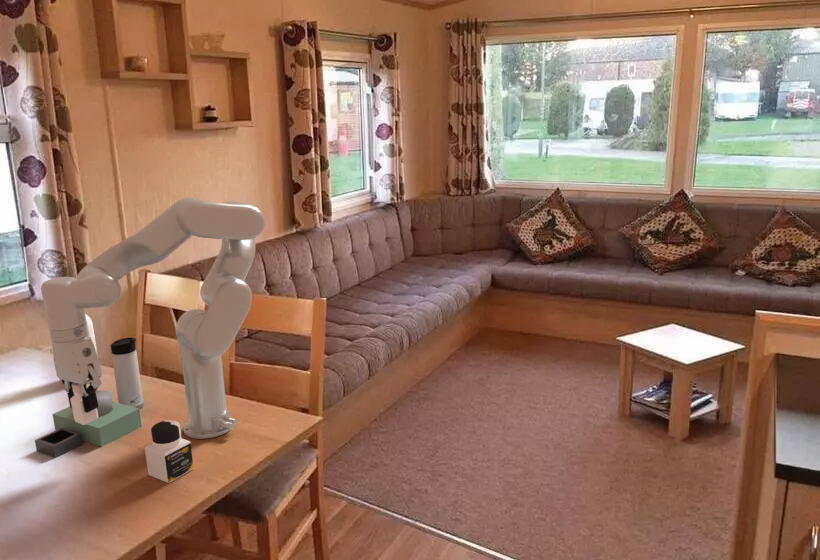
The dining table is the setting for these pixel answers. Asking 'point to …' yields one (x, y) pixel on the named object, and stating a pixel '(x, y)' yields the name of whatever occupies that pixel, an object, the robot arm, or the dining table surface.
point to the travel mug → (127, 372)
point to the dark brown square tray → (58, 442)
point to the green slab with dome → (101, 421)
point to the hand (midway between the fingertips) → (84, 407)
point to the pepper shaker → (81, 407)
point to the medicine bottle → (168, 452)
